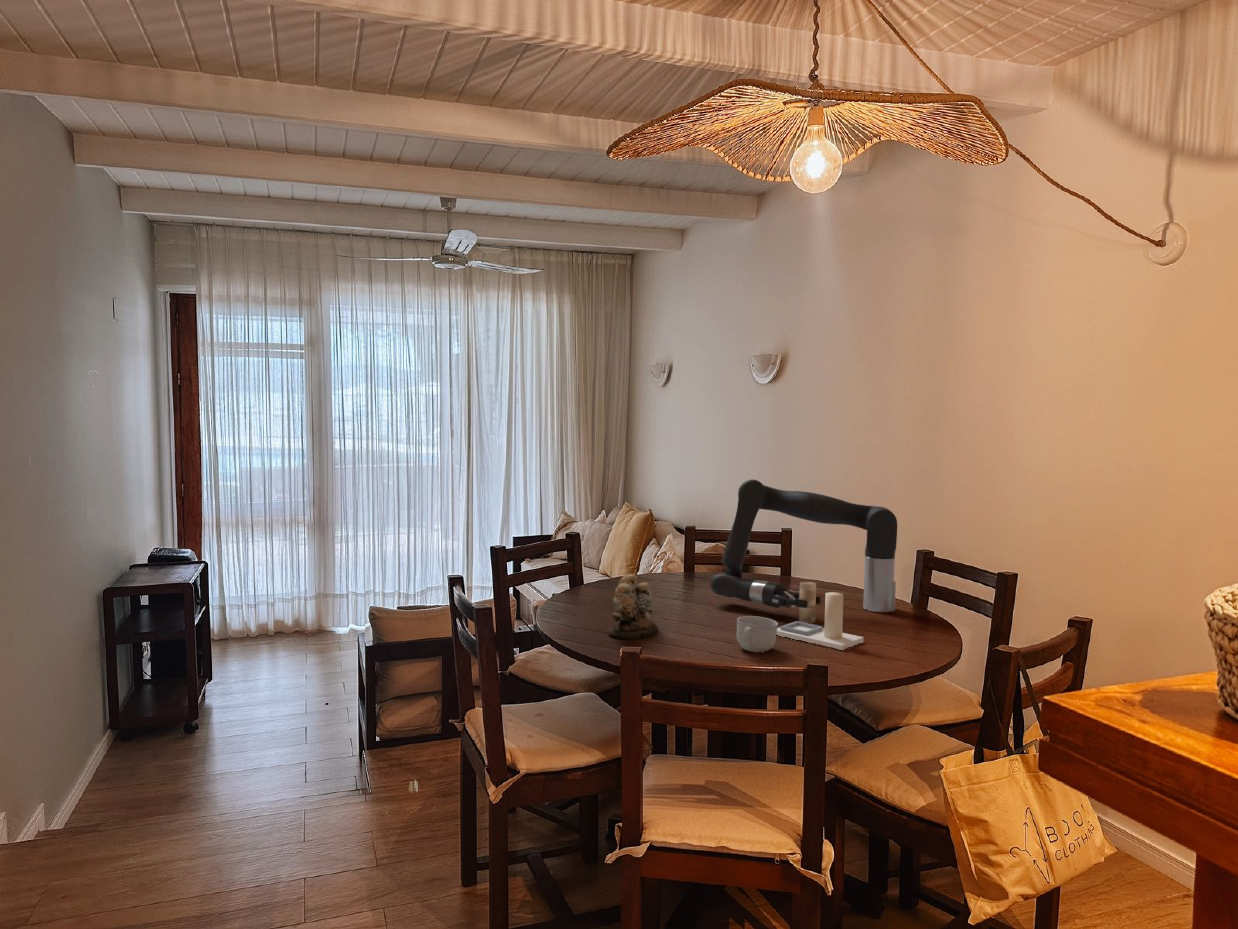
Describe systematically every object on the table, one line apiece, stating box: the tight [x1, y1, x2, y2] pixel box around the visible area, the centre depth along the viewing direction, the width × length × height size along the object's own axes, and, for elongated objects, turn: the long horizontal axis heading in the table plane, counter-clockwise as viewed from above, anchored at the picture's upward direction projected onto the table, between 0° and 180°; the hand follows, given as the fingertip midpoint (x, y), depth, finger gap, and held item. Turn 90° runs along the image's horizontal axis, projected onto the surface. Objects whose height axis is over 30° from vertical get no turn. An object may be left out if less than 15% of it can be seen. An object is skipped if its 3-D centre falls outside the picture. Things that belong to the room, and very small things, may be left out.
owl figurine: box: [608, 573, 659, 640], centre depth 236 cm, size 18×12×17 cm, turn 145°
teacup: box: [736, 615, 779, 653], centre depth 220 cm, size 14×11×8 cm
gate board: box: [777, 591, 864, 651], centre depth 232 cm, size 22×12×14 cm, turn 46°
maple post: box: [798, 581, 817, 624], centre depth 250 cm, size 5×5×12 cm
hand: (813, 602), depth 249 cm, fingers open, 7 cm apart
